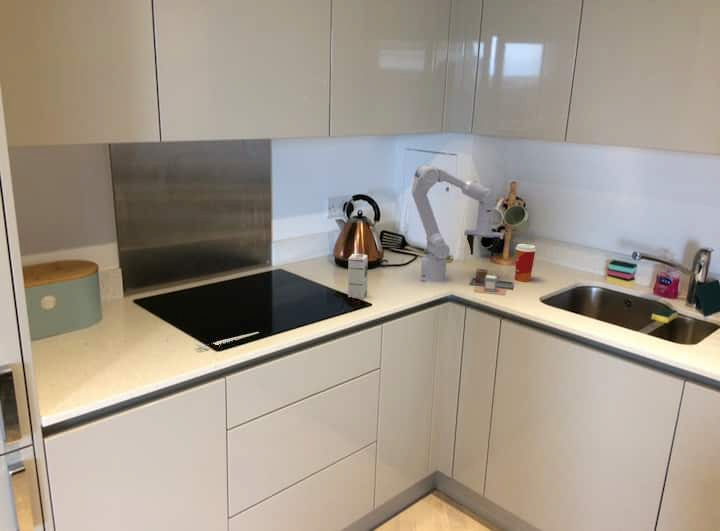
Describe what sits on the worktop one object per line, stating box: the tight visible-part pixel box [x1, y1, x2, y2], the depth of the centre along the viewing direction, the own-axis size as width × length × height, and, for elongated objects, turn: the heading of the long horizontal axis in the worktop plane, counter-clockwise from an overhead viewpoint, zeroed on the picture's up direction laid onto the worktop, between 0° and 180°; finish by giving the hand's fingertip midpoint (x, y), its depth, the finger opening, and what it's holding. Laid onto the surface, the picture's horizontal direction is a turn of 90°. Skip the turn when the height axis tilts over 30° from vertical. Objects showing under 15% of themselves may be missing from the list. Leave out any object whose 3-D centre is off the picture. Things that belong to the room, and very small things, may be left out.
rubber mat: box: [473, 286, 507, 297], centre depth 216 cm, size 11×7×1 cm, turn 74°
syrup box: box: [347, 253, 369, 300], centre depth 206 cm, size 6×6×14 cm
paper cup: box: [514, 243, 537, 283], centre depth 228 cm, size 8×8×14 cm
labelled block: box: [484, 274, 498, 292], centre depth 215 cm, size 4×4×5 cm
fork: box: [195, 331, 260, 351], centre depth 167 cm, size 3×20×2 cm, turn 134°
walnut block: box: [474, 268, 489, 284], centre depth 224 cm, size 4×4×5 cm
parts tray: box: [469, 276, 514, 291], centre depth 223 cm, size 16×8×1 cm, turn 74°
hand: (481, 255), depth 229 cm, fingers open, 7 cm apart
